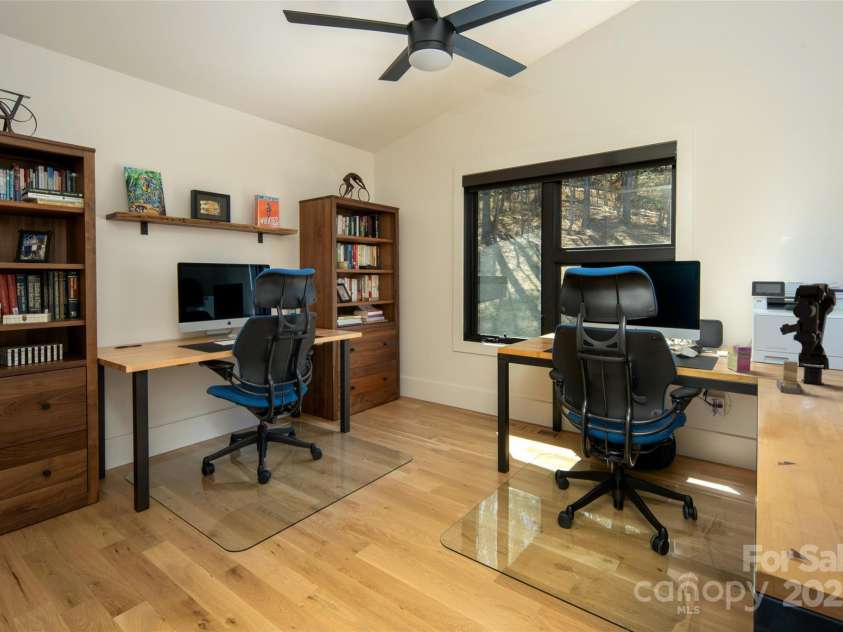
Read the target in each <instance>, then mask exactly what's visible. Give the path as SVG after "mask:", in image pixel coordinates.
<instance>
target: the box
mask: <svg viewBox="0 0 843 632" xmlns="http://www.w3.org/2000/svg"><path fill="white" fill-rule="evenodd" d="M726 357H727V358H726V359H727V360H726V368H727V367H728V368H730V369H729V370H731V369H732V370H731V371H733V370H734V372H735V371H737V372H736V373H742V372H750V373H751V365H752V363H751V361H752V346H751V347H750V346H748V345H745V344H740V343H727V355H726ZM728 368H727V369H728Z"/></svg>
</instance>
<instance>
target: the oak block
mask: <svg viewBox="0 0 843 632" xmlns="http://www.w3.org/2000/svg"><path fill="white" fill-rule="evenodd" d="M798 367H799V361H798V362H797V361H793V360H792V361H791V360H783V362H782V381H781V382H782V384H783V385H784V386H791V387H798V383H799V381H798Z"/></svg>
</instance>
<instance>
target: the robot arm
mask: <svg viewBox="0 0 843 632" xmlns="http://www.w3.org/2000/svg"><path fill="white" fill-rule="evenodd" d="M836 295H837V294H836V291H834V290H833V289H832V288H830V285H829V284H828V283H819V282H818V283H817V282H816V283H812V284H799V286H798V287H797V288H796V289H795V294H794V298H793V303H798V304H796V305H795V306H794V307H793V309H792V313H793V316H794V317H796V318H798V319H797V320H796V323H793V324H789V323H784V324H782V325H781V327H779V332H780V333H781V335H782V336H785V335H787V334H793V333H795V334H793V341H796V342H797V343H799V344H800V345H801V349H800V352H799V353H798V359H797V360H798V368H803V377H802V379H800V381H801V382H802V383H803V384H808V385H809V384H810V385H821V386H822V385H823V386H825V383H824V382H823V371H826V370H830V361H829V360H830V359H829V358H828V355H827V354H826V351H825V349H824V347H823V340H824V336H825V335H824V334H825V329H826V323H827V322H826V321H827V317H828V316H829V315H830V314H831V313H832V312H833V311H834V308H835V307H836V305H837V296H836Z"/></svg>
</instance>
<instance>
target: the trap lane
mask: <svg viewBox="0 0 843 632" xmlns="http://www.w3.org/2000/svg"><path fill="white" fill-rule="evenodd" d="M782 382H783V381H781V380H780V379H779V378H776V387H777V388H778V390H779V392H780V393H783V394H784V393H785V394H795V395H802V389H803V387H802V385H801V384H800V383H799V382H798V387H791V386H784V385H783V384H782Z"/></svg>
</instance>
